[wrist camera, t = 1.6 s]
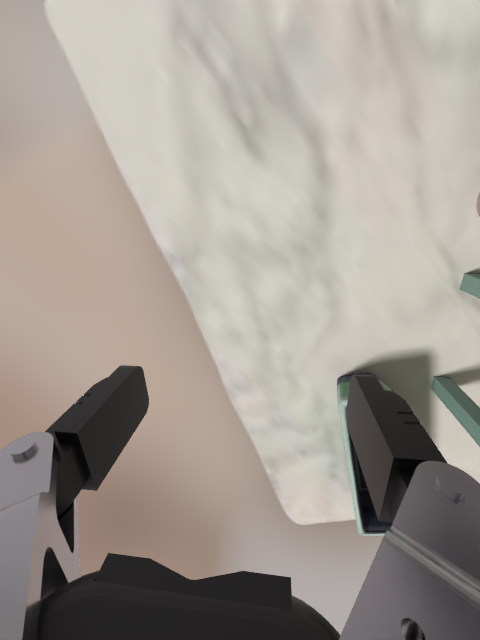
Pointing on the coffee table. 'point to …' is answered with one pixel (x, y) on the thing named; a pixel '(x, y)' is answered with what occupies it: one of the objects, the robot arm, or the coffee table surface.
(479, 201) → the coffee cup
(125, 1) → the coffee table surface
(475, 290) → the tall green stool
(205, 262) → the coffee table surface
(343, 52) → the coffee table surface
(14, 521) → the robot arm
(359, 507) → the planter
